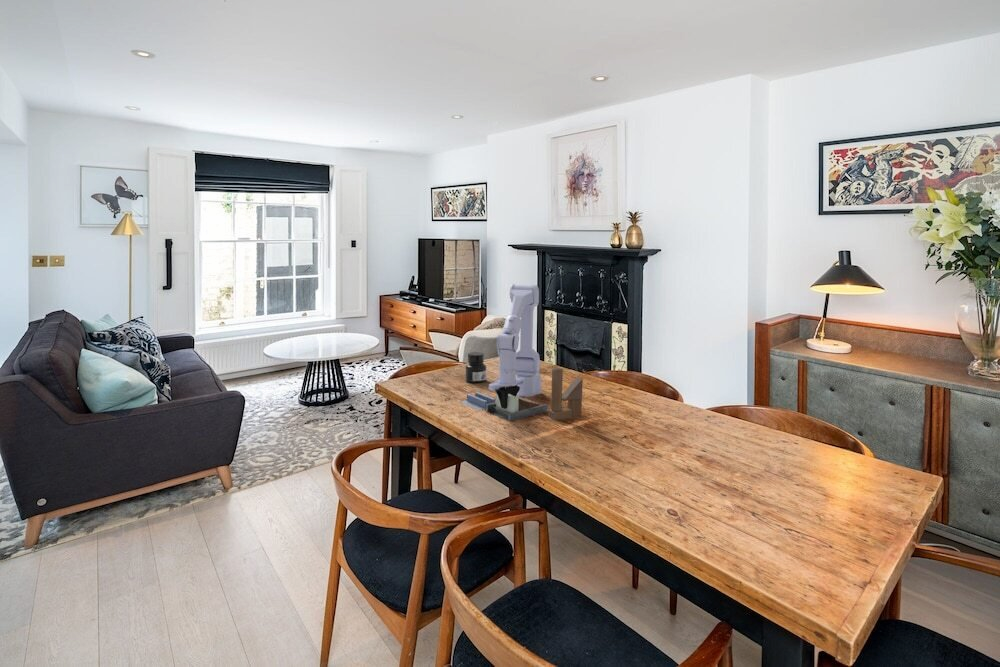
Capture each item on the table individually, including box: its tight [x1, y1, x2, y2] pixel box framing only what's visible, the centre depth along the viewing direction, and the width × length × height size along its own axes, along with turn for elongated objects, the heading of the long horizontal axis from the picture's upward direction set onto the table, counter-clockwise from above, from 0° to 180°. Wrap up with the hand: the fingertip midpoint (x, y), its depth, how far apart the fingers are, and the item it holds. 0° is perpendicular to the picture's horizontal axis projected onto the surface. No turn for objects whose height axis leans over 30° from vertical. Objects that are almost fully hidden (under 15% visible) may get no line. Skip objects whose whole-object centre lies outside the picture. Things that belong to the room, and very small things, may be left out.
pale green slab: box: [495, 392, 520, 413], centre depth 182 cm, size 2×10×7 cm, turn 39°
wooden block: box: [548, 367, 584, 421], centre depth 179 cm, size 4×11×18 cm, turn 112°
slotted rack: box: [485, 396, 549, 423], centre depth 185 cm, size 17×13×4 cm
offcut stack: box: [518, 396, 540, 410], centre depth 187 cm, size 4×8×4 cm, turn 39°
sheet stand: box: [459, 391, 496, 411], centre depth 194 cm, size 10×12×4 cm
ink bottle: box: [465, 351, 487, 384], centre depth 227 cm, size 10×9×12 cm
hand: (507, 407), depth 182 cm, fingers open, 2 cm apart
